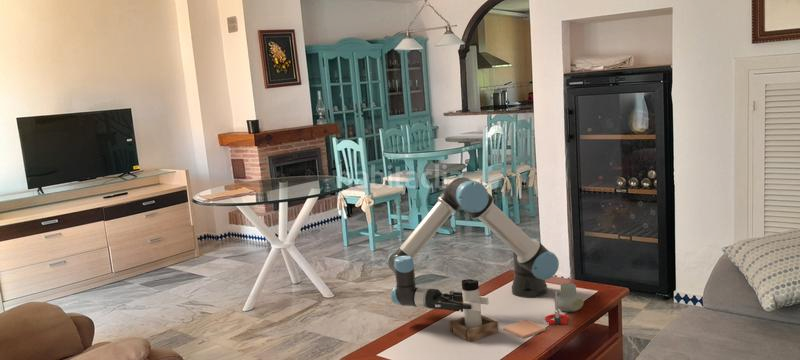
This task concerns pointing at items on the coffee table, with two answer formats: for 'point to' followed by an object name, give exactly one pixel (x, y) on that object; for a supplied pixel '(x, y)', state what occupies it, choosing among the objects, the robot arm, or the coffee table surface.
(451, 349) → the coffee table surface
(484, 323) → the wooden tray
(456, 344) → the coffee table surface
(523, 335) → the terracotta tile
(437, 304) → the robot arm
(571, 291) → the air freshener
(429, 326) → the coffee table surface
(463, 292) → the travel mug
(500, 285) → the coffee table surface
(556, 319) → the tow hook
